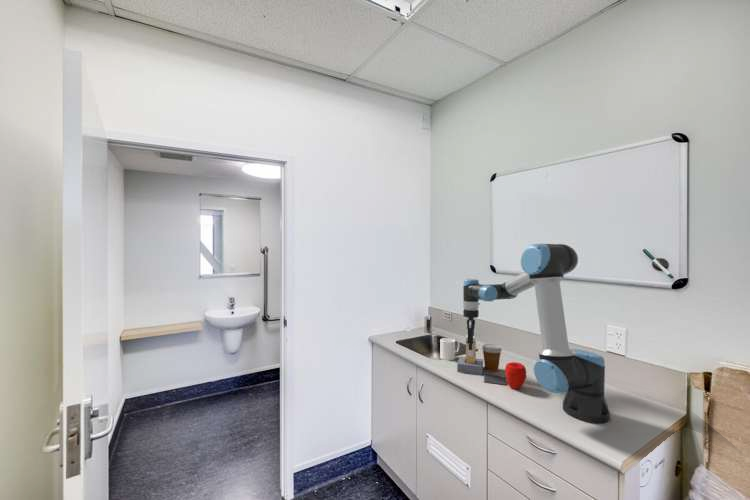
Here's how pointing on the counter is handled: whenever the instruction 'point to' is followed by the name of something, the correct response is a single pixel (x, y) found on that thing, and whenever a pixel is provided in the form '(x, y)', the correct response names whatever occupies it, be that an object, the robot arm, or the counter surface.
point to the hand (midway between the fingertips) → (470, 354)
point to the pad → (495, 379)
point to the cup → (448, 348)
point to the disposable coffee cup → (491, 356)
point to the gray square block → (470, 366)
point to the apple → (515, 374)
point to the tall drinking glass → (473, 358)
